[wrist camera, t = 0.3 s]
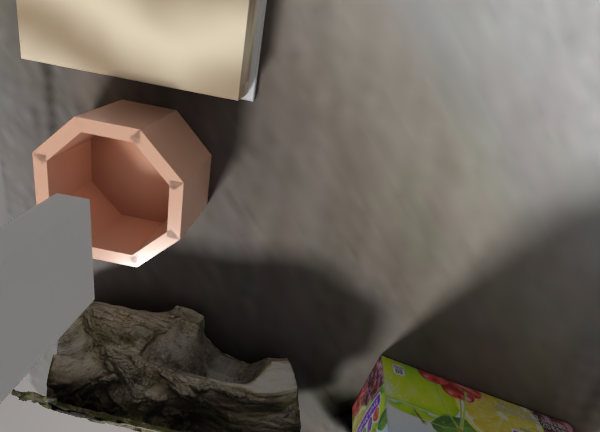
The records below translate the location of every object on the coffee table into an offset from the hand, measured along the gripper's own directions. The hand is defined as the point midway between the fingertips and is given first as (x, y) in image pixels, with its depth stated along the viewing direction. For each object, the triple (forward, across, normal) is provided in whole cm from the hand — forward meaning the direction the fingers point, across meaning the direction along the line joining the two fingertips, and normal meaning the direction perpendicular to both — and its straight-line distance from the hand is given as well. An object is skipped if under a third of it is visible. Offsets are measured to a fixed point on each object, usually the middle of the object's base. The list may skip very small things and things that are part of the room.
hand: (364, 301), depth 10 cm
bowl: (+27, -16, -9) cm, 33 cm away
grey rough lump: (+27, -11, -29) cm, 41 cm away
